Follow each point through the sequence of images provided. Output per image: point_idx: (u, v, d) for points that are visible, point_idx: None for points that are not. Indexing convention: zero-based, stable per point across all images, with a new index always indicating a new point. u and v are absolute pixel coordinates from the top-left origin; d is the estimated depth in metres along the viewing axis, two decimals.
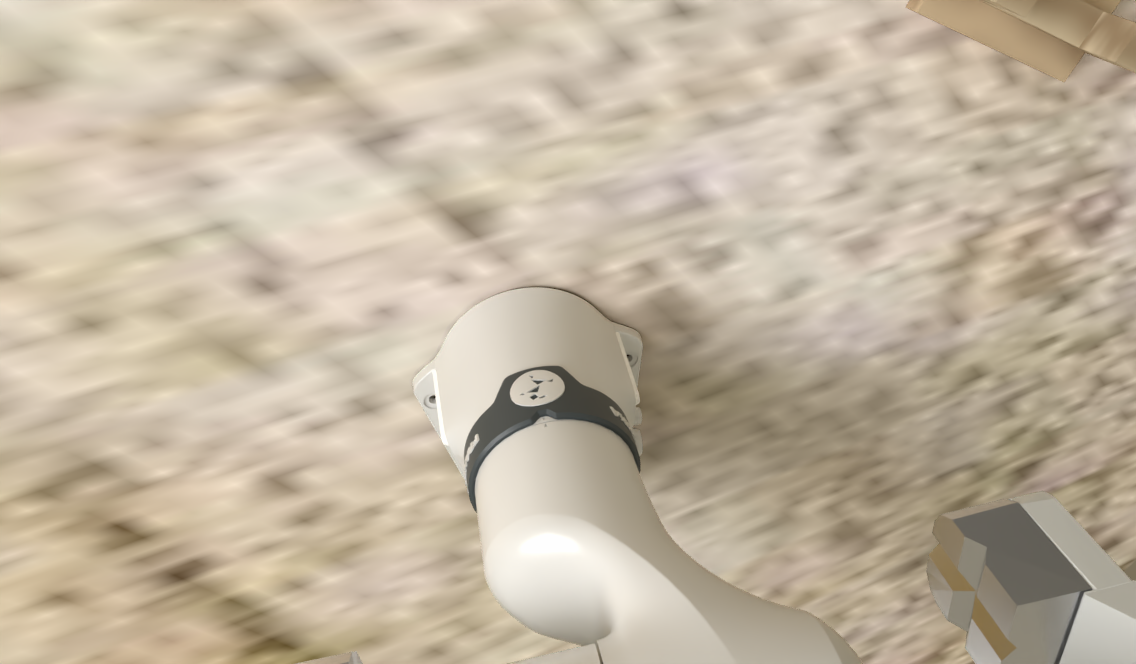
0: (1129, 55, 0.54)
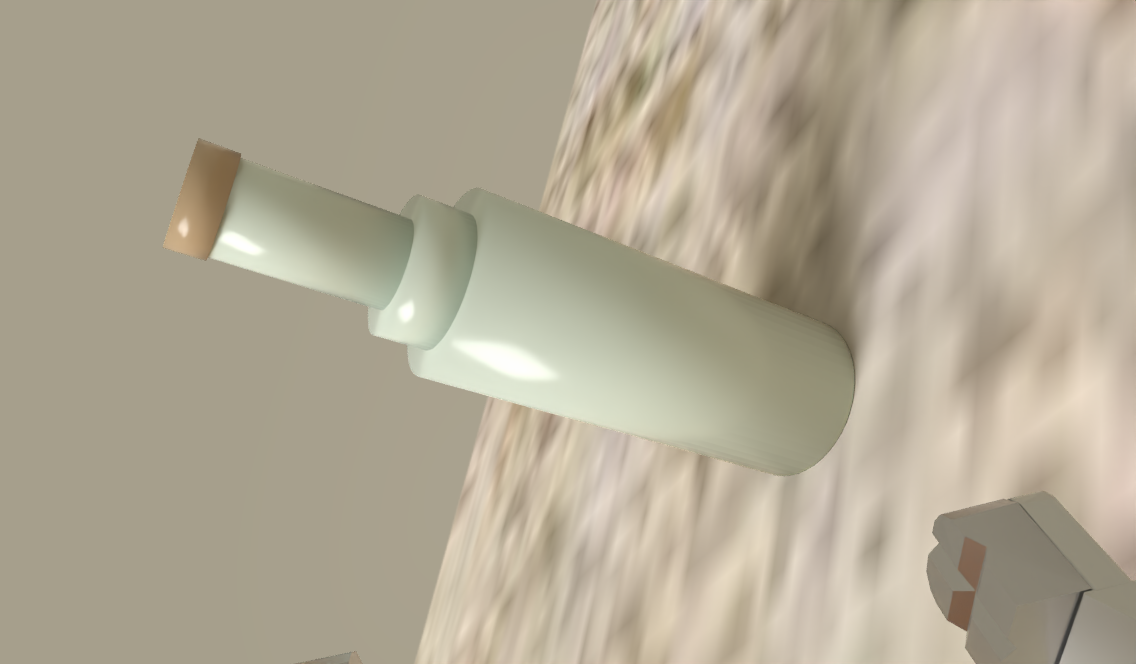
0: None
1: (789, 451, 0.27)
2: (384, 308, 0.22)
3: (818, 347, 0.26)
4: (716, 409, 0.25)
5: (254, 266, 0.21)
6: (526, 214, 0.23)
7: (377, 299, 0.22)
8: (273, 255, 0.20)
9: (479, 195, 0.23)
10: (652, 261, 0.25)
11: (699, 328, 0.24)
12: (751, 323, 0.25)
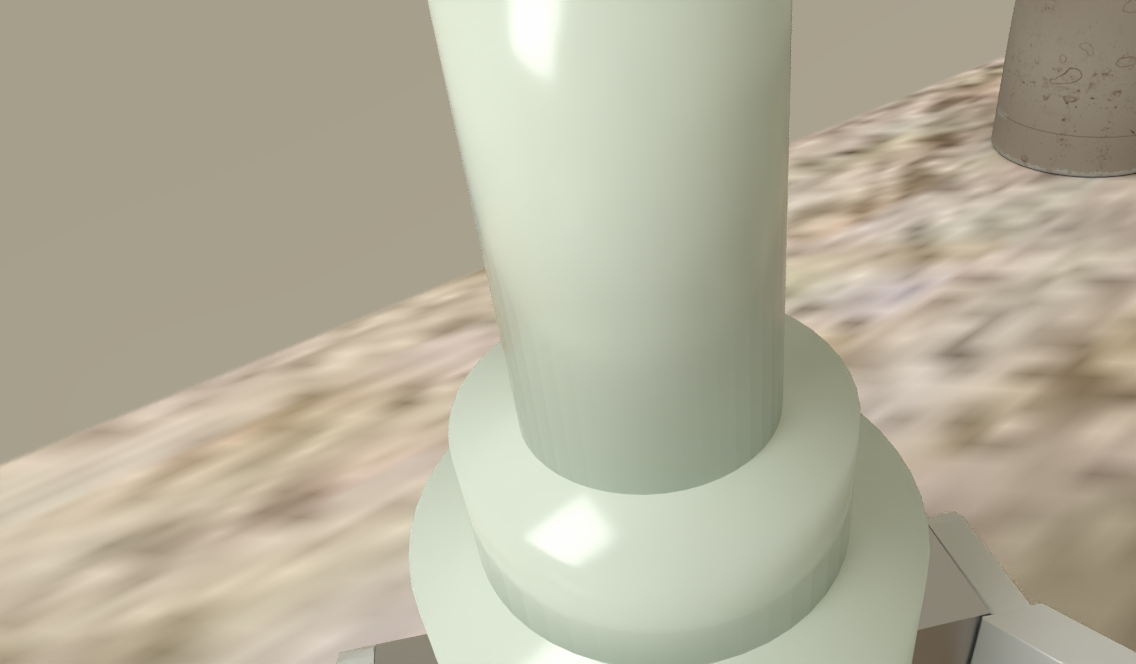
0: None
1: None
2: (556, 473, 0.08)
3: None
4: None
5: (500, 113, 0.06)
6: None
7: (582, 458, 0.07)
8: (589, 159, 0.06)
9: (874, 444, 0.09)
10: None
11: None
12: None
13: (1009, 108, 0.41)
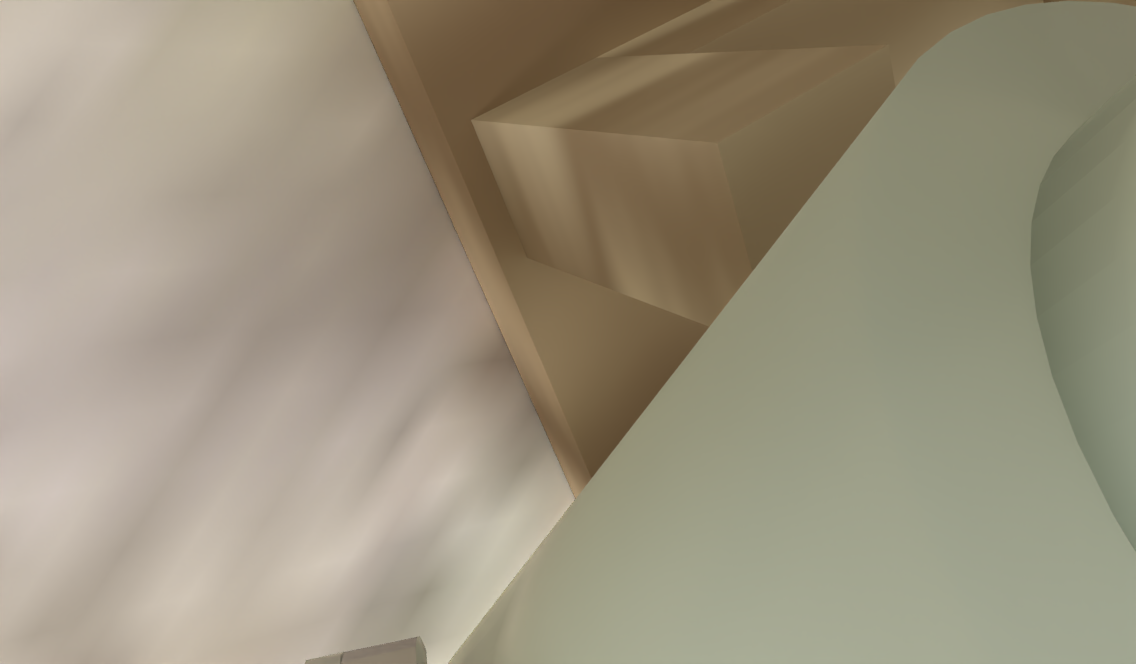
0: None
1: None
2: None
3: None
4: None
5: None
6: None
7: None
8: None
9: None
10: None
11: None
12: None
13: None
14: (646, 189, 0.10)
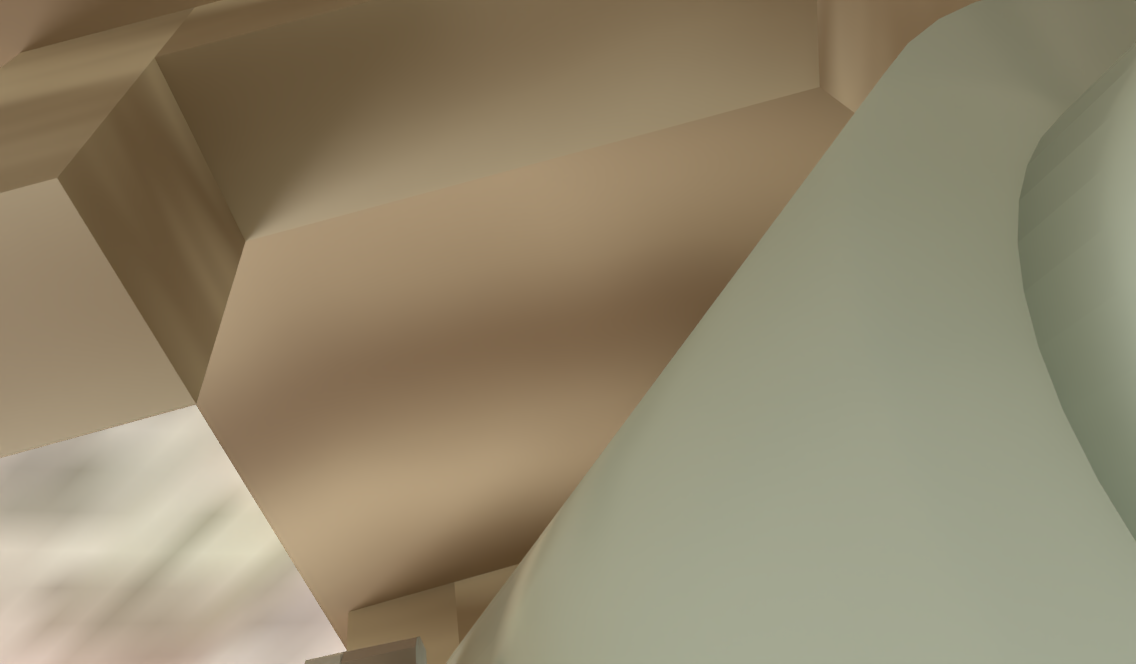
0: None
1: None
2: None
3: None
4: None
5: None
6: None
7: None
8: None
9: None
10: None
11: None
12: None
13: None
14: None
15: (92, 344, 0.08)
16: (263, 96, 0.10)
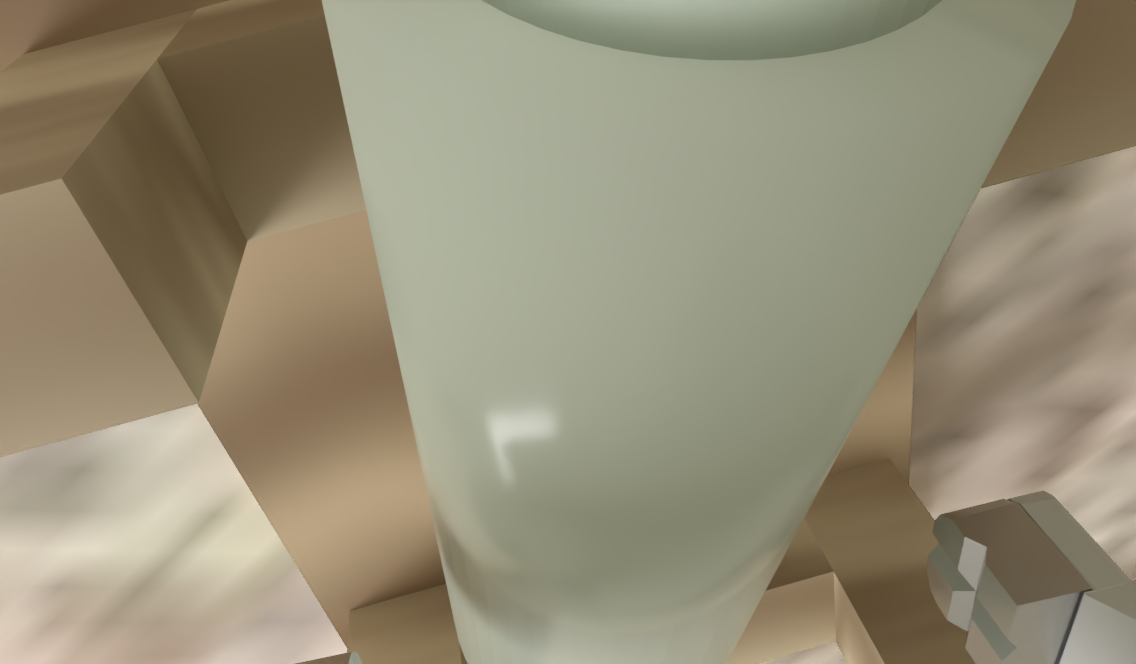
0: None
1: None
2: None
3: (738, 640, 0.14)
4: (605, 652, 0.11)
5: None
6: None
7: None
8: None
9: None
10: None
11: (773, 558, 0.10)
12: None
13: None
14: None
15: (96, 343, 0.08)
16: (265, 98, 0.10)
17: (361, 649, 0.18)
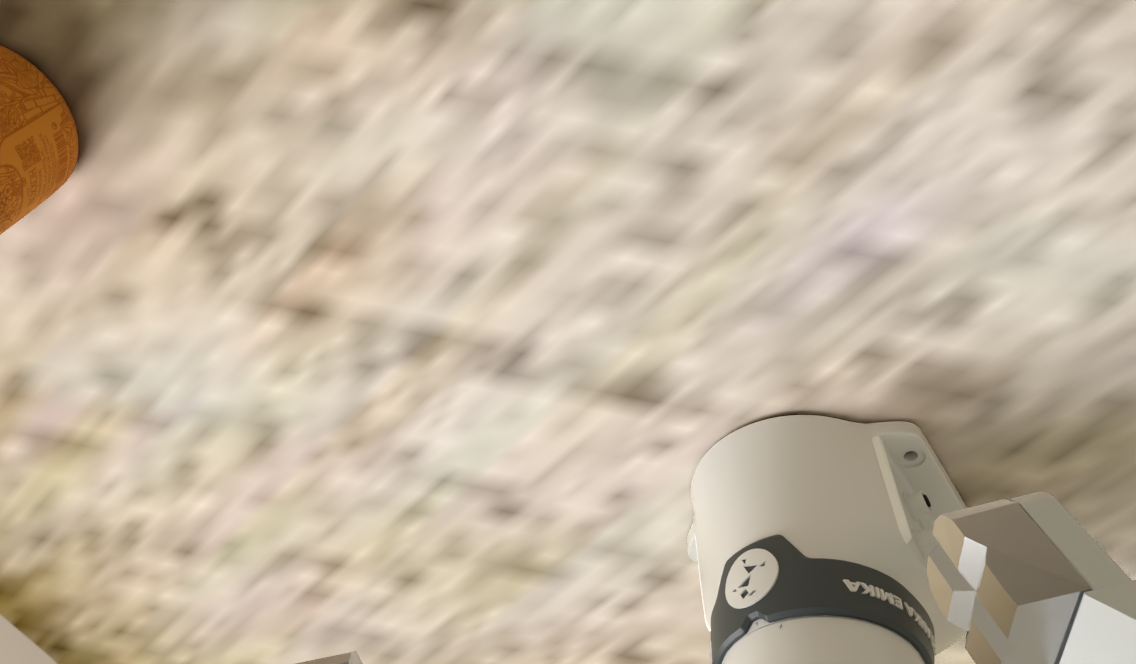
0: None
1: None
2: None
3: None
4: None
5: None
6: None
7: None
8: None
9: None
10: None
11: None
12: None
13: None
14: None
15: None
16: None
17: None
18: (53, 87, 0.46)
